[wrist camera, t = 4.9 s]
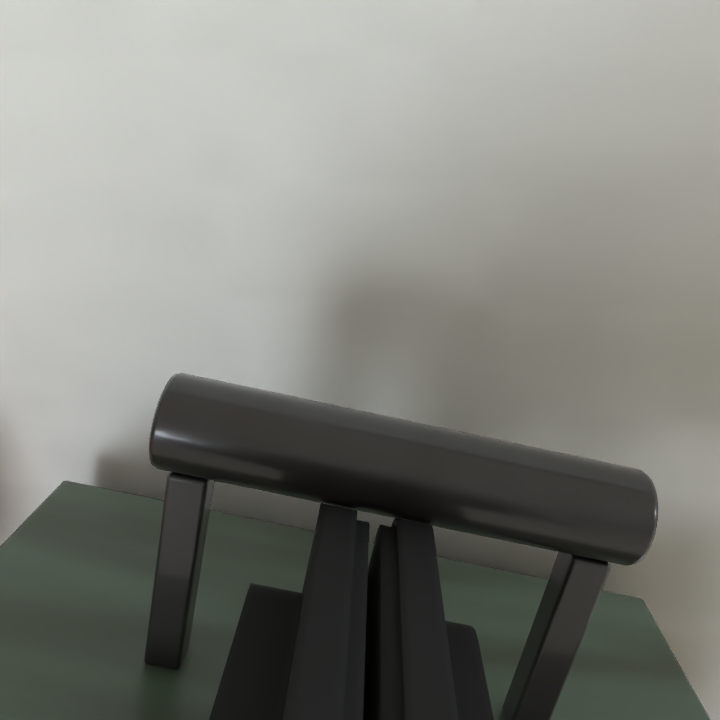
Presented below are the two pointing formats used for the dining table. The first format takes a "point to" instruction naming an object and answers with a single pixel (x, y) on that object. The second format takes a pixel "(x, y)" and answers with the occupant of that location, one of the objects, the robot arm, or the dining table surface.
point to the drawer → (291, 555)
